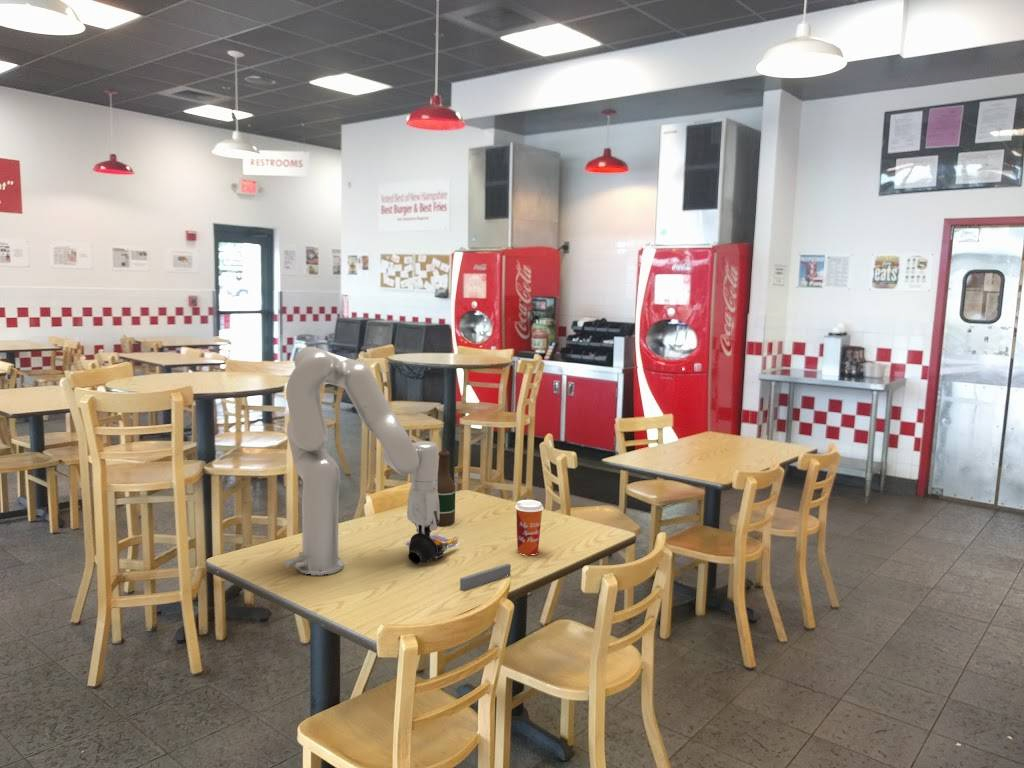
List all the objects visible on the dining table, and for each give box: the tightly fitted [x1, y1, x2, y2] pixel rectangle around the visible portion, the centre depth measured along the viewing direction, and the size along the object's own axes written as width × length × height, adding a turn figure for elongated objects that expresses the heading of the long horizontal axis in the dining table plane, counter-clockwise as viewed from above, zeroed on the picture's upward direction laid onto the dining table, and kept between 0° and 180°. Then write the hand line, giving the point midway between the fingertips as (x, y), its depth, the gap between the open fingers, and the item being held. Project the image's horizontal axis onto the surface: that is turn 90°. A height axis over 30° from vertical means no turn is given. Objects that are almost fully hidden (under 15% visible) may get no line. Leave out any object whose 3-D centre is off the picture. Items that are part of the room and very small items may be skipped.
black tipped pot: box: [408, 533, 459, 565], centre depth 218 cm, size 9×11×18 cm
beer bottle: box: [437, 450, 456, 528], centre depth 248 cm, size 8×8×24 cm
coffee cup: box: [515, 499, 544, 555], centre depth 224 cm, size 8×8×15 cm
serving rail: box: [459, 563, 512, 591], centre depth 202 cm, size 17×1×3 cm, turn 133°
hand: (423, 545), depth 222 cm, fingers closed
